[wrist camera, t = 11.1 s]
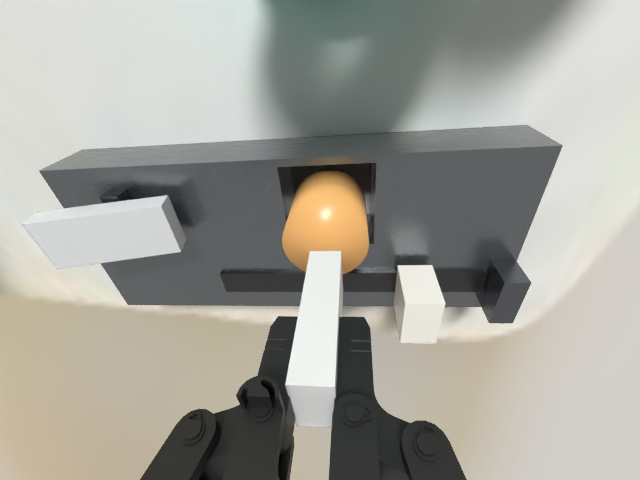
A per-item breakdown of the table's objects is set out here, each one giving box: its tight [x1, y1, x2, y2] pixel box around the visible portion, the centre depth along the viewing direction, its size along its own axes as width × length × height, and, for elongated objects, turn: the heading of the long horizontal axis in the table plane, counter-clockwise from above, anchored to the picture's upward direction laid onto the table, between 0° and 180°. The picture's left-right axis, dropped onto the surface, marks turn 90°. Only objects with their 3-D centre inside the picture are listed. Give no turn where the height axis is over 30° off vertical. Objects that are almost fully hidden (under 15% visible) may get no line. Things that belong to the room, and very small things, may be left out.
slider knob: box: [394, 265, 446, 343], centre depth 21 cm, size 2×4×4 cm, turn 4°
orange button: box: [282, 169, 369, 274], centre depth 18 cm, size 5×5×5 cm
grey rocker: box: [22, 195, 186, 269], centre depth 19 cm, size 8×4×2 cm, turn 95°
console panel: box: [40, 125, 563, 323], centre depth 22 cm, size 32×13×6 cm, turn 94°
